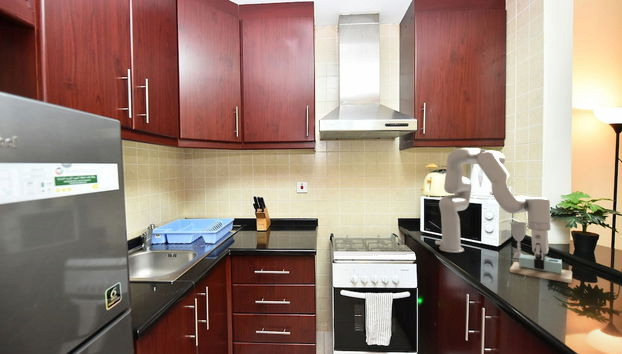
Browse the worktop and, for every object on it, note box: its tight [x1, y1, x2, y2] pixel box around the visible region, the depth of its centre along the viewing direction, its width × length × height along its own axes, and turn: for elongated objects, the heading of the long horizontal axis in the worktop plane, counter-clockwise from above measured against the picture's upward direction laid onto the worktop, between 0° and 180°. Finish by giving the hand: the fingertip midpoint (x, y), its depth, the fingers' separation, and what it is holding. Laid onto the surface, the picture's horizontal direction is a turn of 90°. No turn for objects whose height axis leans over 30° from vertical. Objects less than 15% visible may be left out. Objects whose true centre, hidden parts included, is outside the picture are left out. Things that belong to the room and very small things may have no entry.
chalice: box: [509, 221, 528, 260], centre depth 141 cm, size 7×7×18 cm
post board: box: [509, 261, 573, 284], centre depth 120 cm, size 20×12×6 cm, turn 46°
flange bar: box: [518, 253, 563, 273], centre depth 120 cm, size 14×6×4 cm, turn 46°
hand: (539, 266), depth 120 cm, fingers closed on flange bar, 5 cm apart
